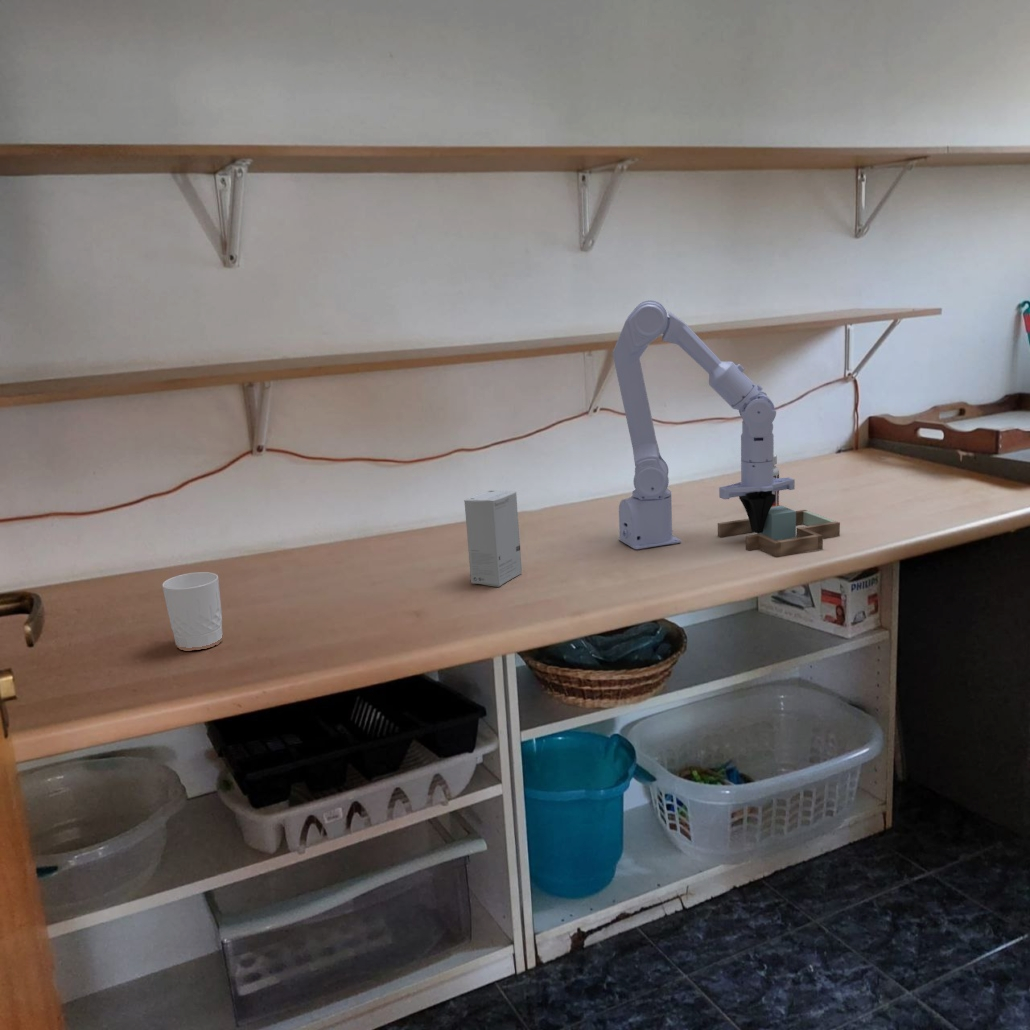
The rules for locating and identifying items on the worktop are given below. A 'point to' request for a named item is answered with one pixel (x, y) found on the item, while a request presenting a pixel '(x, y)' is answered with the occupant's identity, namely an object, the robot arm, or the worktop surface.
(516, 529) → the skincare box
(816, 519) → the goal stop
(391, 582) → the worktop surface
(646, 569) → the worktop surface
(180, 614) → the white cup
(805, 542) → the brown frame
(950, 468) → the worktop surface
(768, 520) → the teal block
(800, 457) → the worktop surface
